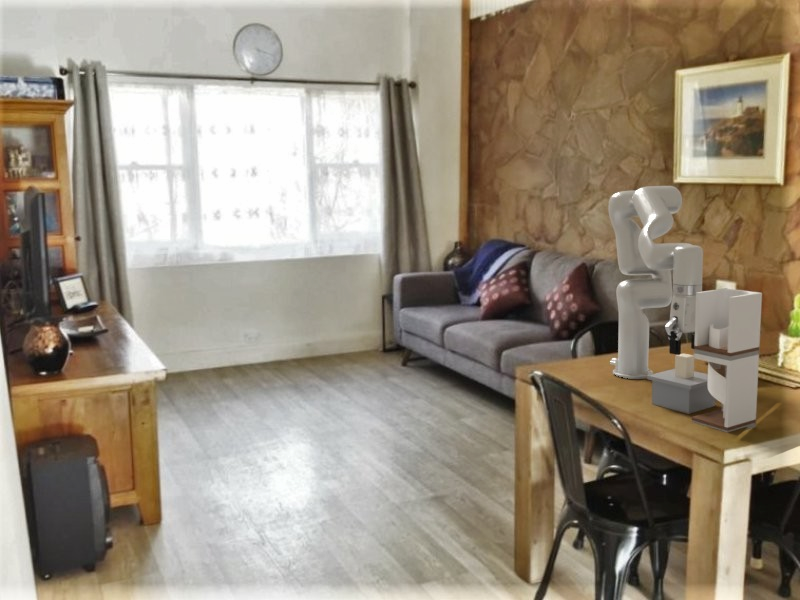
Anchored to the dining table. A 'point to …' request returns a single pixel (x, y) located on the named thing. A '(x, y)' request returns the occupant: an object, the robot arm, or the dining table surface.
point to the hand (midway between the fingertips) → (685, 351)
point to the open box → (681, 397)
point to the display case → (729, 354)
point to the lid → (682, 374)
